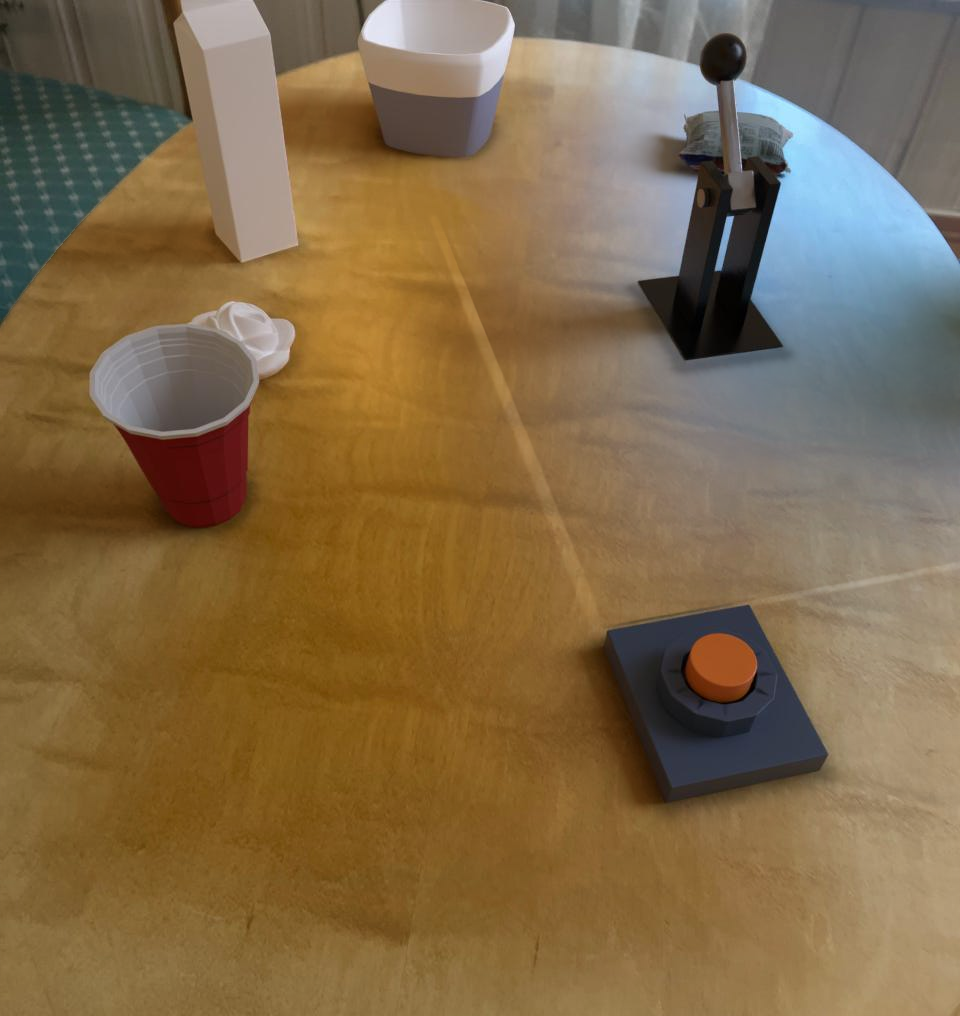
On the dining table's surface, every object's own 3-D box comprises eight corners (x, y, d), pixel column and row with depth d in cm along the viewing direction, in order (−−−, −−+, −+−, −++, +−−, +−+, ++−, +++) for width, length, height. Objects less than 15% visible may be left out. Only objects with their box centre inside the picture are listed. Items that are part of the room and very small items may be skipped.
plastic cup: (192, 582, 70) (151, 451, 60) (104, 504, 74) (53, 371, 65) (312, 504, 75) (292, 372, 65) (223, 436, 79) (192, 302, 70)
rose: (147, 311, 82) (236, 261, 87) (160, 357, 85) (245, 306, 90) (230, 361, 78) (319, 306, 83) (240, 406, 82) (325, 351, 86)
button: (675, 656, 62) (680, 639, 61) (735, 645, 63) (741, 627, 62) (699, 708, 60) (704, 691, 58) (761, 696, 60) (768, 679, 59)
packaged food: (680, 138, 111) (688, 91, 107) (788, 150, 110) (801, 104, 106) (673, 178, 106) (681, 130, 102) (786, 191, 105) (799, 144, 101)
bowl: (350, 157, 107) (340, 44, 98) (392, 94, 116) (386, -14, 108) (490, 177, 105) (493, 63, 96) (521, 111, 114) (527, 2, 106)
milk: (299, 249, 96) (267, -10, 79) (240, 267, 94) (194, 5, 77) (271, 219, 99) (234, -36, 82) (214, 236, 97) (163, -23, 80)
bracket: (636, 291, 93) (660, 141, 82) (727, 280, 94) (762, 131, 83) (682, 371, 86) (716, 218, 75) (780, 357, 87) (826, 205, 76)
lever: (689, 46, 80) (708, 26, 76) (732, 42, 80) (752, 23, 77) (707, 220, 82) (725, 209, 79) (748, 216, 83) (768, 204, 79)
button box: (602, 650, 67) (609, 612, 64) (742, 624, 69) (755, 585, 65) (664, 806, 60) (676, 772, 57) (818, 773, 61) (838, 738, 58)
